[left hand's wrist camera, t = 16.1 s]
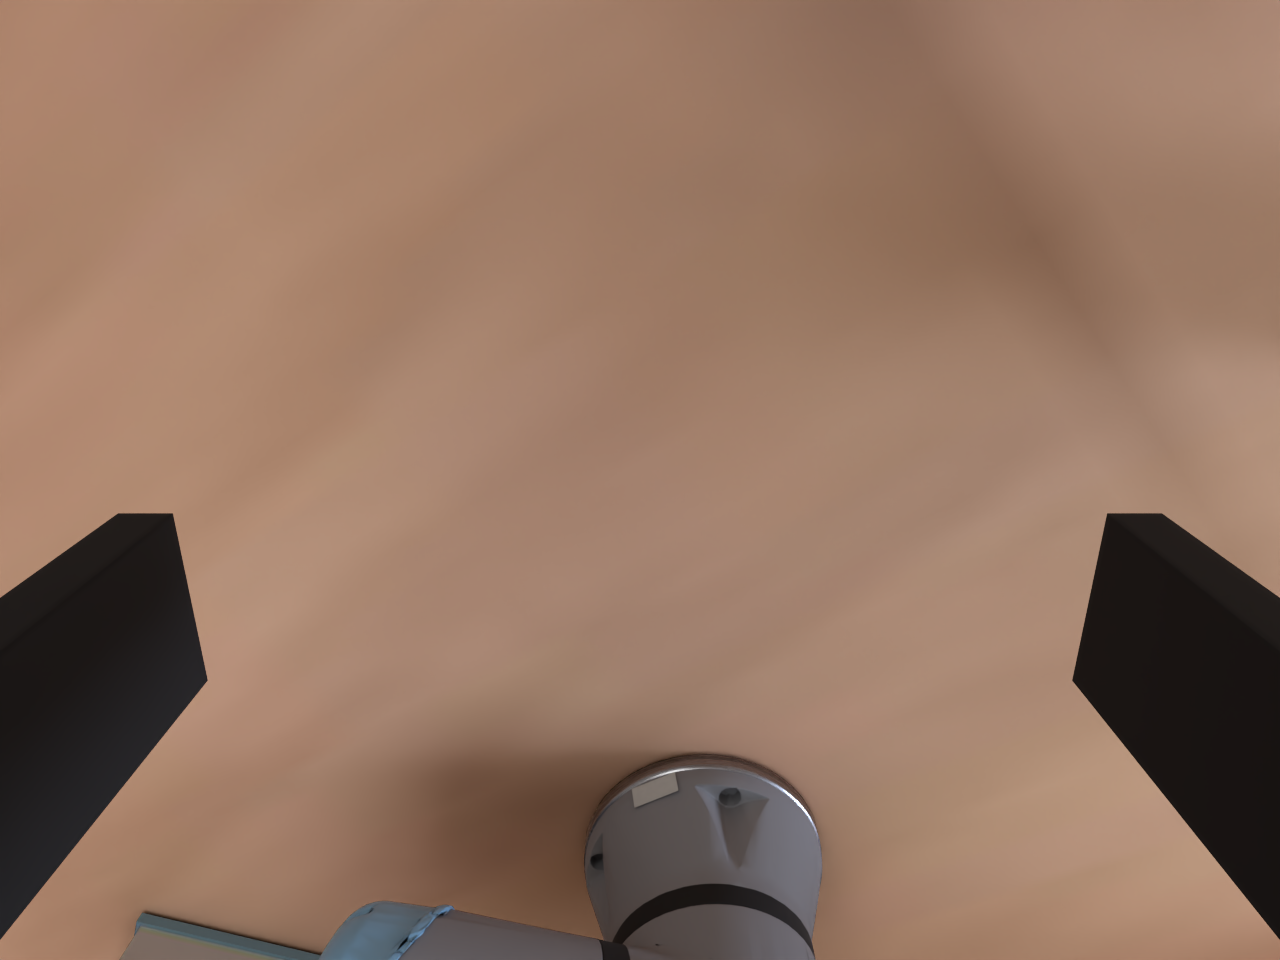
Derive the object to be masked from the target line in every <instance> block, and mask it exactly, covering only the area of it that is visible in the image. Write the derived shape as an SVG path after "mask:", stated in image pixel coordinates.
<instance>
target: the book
mask: <svg viewBox="0 0 1280 960" xmlns="http://www.w3.org/2000/svg"><path fill="white" fill-rule="evenodd" d="M320 956H321V955H317V954H313V953H309V952H304V951H300V950H296V949H292V948H288V947H283V946H279V945H275V944H271V943H267V942H263V941H258V940H254V939H250V938H246V937H242V936H237V935H233V934H229V933H225V932H221V931H217V930H212V929H208V928H204V927H200V926H196V925H192V924H187V923H183V922H179V921H175V920H171V919H166V918H162V917H158V916H154V915H150V914H146V913H142V914H141V916H140V917H139V919H138V920H137V923H136V928H135V934H134V938H133V939H132V941H131V942H130V944H129V945H128V947H127V949H126V950H125V952H124V953H123V955H122V956H121V958H120V960H319V958H320Z"/></svg>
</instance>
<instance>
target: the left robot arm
mask: <svg viewBox="0 0 1280 960" xmlns="http://www.w3.org/2000/svg"><path fill="white" fill-rule="evenodd" d="M207 681H208V680H207V675H206V670H205V666H204V661H203V656H202V651H201V646H200V642H199V637H198V632H197V627H196V623H195V618H194V613H193V608H192V603H191V599H190V594H189V589H188V584H187V579H186V575H185V570H184V565H183V560H182V556H181V551H180V546H179V541H178V536H177V532H176V527H175V522H174V517H173V514H117V515H115V516H114V517H113V518H111V519H110V520H108V521H107V522H106V523H104V524H103V525H101V526H100V527H99V528H97V529H96V530H94V531H93V532H92V533H90V534H89V535H87V536H86V537H85V538H83V539H82V540H80V541H79V542H78V543H76V544H75V545H73V546H72V547H71V548H69V549H68V550H66V551H65V552H64V553H62V554H61V555H60V556H58V557H57V558H55V559H54V560H53V561H51V562H50V563H48V564H47V565H46V566H44V567H43V568H41V569H40V570H39V571H37V572H36V573H34V574H33V575H32V576H30V577H29V578H27V579H26V580H25V581H23V582H22V583H20V584H19V585H18V586H16V587H15V588H13V589H12V590H11V591H9V592H8V593H6V594H5V595H4V596H2V597H1V598H0V939H1V938H2V937H3V935H4V934H5V933H6V932H7V930H8V929H9V928H10V927H11V925H12V924H13V923H14V922H15V920H16V919H17V918H18V917H19V915H20V914H21V913H22V912H23V910H24V909H25V908H26V907H27V905H28V904H29V903H30V902H31V900H32V899H33V898H34V897H35V895H36V894H37V893H38V892H39V890H40V889H41V888H42V887H43V885H44V884H45V883H46V882H47V880H48V879H49V878H50V877H51V875H52V874H53V873H54V872H55V870H56V869H57V868H58V867H59V866H60V864H61V863H62V862H63V861H64V859H65V858H66V857H67V856H68V854H69V853H70V852H71V851H72V849H73V848H74V847H75V846H76V844H77V843H78V842H79V841H80V839H81V838H82V837H83V836H84V834H85V833H86V832H87V831H88V829H89V828H90V827H91V826H92V824H93V823H94V822H95V821H96V819H97V818H98V817H99V816H100V814H101V813H102V812H103V811H104V809H105V808H106V807H107V806H108V804H109V803H110V802H111V801H112V799H113V798H114V797H115V796H116V794H117V793H118V792H119V791H120V789H121V788H122V787H123V786H124V784H125V783H126V782H127V781H128V779H129V778H130V777H131V776H132V774H133V773H134V772H135V771H136V769H137V768H138V767H139V766H140V764H141V763H142V762H143V761H144V759H145V758H146V757H147V756H148V754H149V753H150V752H151V751H152V749H153V748H154V747H155V746H156V744H157V743H158V742H159V741H160V739H161V738H162V737H163V736H164V734H165V733H166V732H167V731H168V729H169V728H170V727H171V726H172V724H173V723H174V722H175V721H176V719H177V718H178V717H179V716H180V714H181V713H182V712H183V711H184V709H185V708H186V707H187V706H188V704H189V703H190V702H191V701H192V699H193V698H194V697H195V696H196V694H197V693H198V692H199V691H200V689H201V688H202V687H203V686H204V684H205V683H206V682H207ZM1072 681H1073V682H1074V683H1075V684H1076V686H1077V687H1078V688H1079V689H1080V691H1081V692H1082V693H1083V694H1084V696H1085V697H1086V698H1087V699H1088V701H1089V702H1090V703H1091V704H1092V706H1093V707H1094V708H1095V709H1096V711H1097V712H1098V713H1099V714H1100V716H1101V717H1102V718H1103V719H1104V721H1105V722H1106V723H1107V724H1108V726H1109V727H1110V728H1111V729H1112V731H1113V732H1114V733H1115V734H1116V736H1117V737H1118V738H1119V739H1120V741H1121V742H1122V743H1123V744H1124V746H1125V747H1126V748H1127V749H1128V751H1129V752H1130V753H1131V754H1132V756H1133V757H1134V758H1135V759H1136V761H1137V762H1138V763H1139V764H1140V766H1141V767H1142V768H1143V769H1144V771H1145V772H1146V773H1147V774H1148V776H1149V777H1150V778H1151V779H1152V781H1153V782H1154V783H1155V784H1156V786H1157V787H1158V788H1159V789H1160V791H1161V792H1162V793H1163V794H1164V796H1165V797H1166V798H1167V799H1168V801H1169V802H1170V803H1171V804H1172V806H1173V807H1174V808H1175V809H1176V811H1177V812H1178V813H1179V814H1180V816H1181V817H1182V818H1183V819H1184V821H1185V822H1186V823H1187V824H1188V826H1189V827H1190V828H1191V829H1192V831H1193V832H1194V833H1195V834H1196V836H1197V837H1198V838H1199V839H1200V841H1201V842H1202V843H1203V844H1204V846H1205V847H1206V848H1207V849H1208V851H1209V852H1210V853H1211V854H1212V856H1213V857H1214V858H1215V859H1216V861H1217V862H1218V863H1219V864H1220V866H1221V867H1222V868H1223V869H1224V871H1225V872H1226V873H1227V874H1228V876H1229V877H1230V878H1231V879H1232V881H1233V882H1234V883H1235V884H1236V886H1237V887H1238V888H1239V889H1240V890H1241V892H1242V893H1243V894H1244V895H1245V897H1246V898H1247V899H1248V900H1249V902H1250V903H1251V904H1252V905H1253V907H1254V908H1255V909H1256V910H1257V912H1258V913H1259V914H1260V915H1261V917H1262V918H1263V919H1264V920H1265V922H1266V923H1267V924H1268V925H1269V927H1270V928H1271V929H1272V930H1273V932H1274V933H1275V934H1276V935H1277V937H1278V938H1279V939H1280V598H1279V597H1278V596H1276V595H1275V594H1274V593H1272V592H1271V591H1269V590H1268V589H1267V588H1265V587H1264V586H1262V585H1261V584H1260V583H1258V582H1257V581H1255V580H1254V579H1253V578H1251V577H1250V576H1248V575H1247V574H1246V573H1244V572H1243V571H1241V570H1240V569H1239V568H1237V567H1236V566H1234V565H1233V564H1232V563H1230V562H1229V561H1227V560H1226V559H1225V558H1223V557H1222V556H1220V555H1219V554H1218V553H1216V552H1215V551H1214V550H1212V549H1211V548H1209V547H1208V546H1207V545H1205V544H1204V543H1202V542H1201V541H1200V540H1198V539H1197V538H1195V537H1194V536H1193V535H1191V534H1190V533H1188V532H1187V531H1186V530H1184V529H1183V528H1181V527H1180V526H1179V525H1177V524H1176V523H1174V522H1173V521H1172V520H1170V519H1169V518H1167V517H1166V516H1165V515H1163V514H1107V517H1106V522H1105V527H1104V532H1103V536H1102V541H1101V546H1100V551H1099V556H1098V560H1097V565H1096V570H1095V575H1094V579H1093V584H1092V589H1091V594H1090V599H1089V603H1088V608H1087V613H1086V618H1085V623H1084V627H1083V632H1082V637H1081V642H1080V646H1079V651H1078V656H1077V661H1076V666H1075V670H1074V675H1073V680H1072ZM584 868H585V878H586V885H587V890H588V894H589V896H590V899H591V902H592V905H593V908H594V911H595V914H596V917H597V920H598V923H599V926H600V929H601V932H602V935H603V938H604V941H603V940H599V939H595V938H590V937H585V936H579V935H574V934H569V933H564V932H559V931H554V930H549V929H544V928H539V927H535V926H530V925H525V924H520V923H515V922H510V921H506V920H501V919H496V918H491V917H486V916H482V915H477V914H472V913H467V912H462V911H457V910H455V909H454V908H453V906H450V905H441V906H437V907H436V908H435V907H426V906H419V905H412V904H405V903H398V902H391V901H377V902H373V903H370V904H367V905H365V906H363V907H361V908H360V909H358V910H357V911H355V912H354V913H353V914H351V915H350V916H349V917H348V918H347V920H346V921H345V922H344V923H343V924H342V925H341V926H340V927H339V929H338V930H337V931H336V933H335V934H334V936H333V937H332V938H331V940H330V941H329V943H328V944H327V946H326V948H325V949H324V951H323V953H322V954H321V956H320V958H319V960H815V955H814V950H813V945H812V935H813V929H814V923H815V916H816V910H817V903H818V896H819V889H820V884H821V878H822V854H821V845H820V840H819V836H818V832H817V828H816V825H815V822H814V819H813V816H812V814H811V812H810V809H809V807H808V806H807V804H806V803H805V801H804V800H803V798H802V797H801V796H800V795H799V793H798V792H797V791H796V790H795V789H794V788H793V787H792V786H791V785H790V784H789V783H787V782H786V781H785V780H784V779H782V778H781V777H780V776H778V775H776V774H775V773H773V772H772V771H770V770H768V769H766V768H764V767H762V766H759V765H757V764H755V763H752V762H749V761H746V760H742V759H738V758H734V757H728V756H721V755H707V754H706V755H688V756H681V757H675V758H670V759H667V760H663V761H660V762H657V763H654V764H651V765H649V766H647V767H644V768H642V769H640V770H638V771H636V772H635V773H633V774H631V775H630V776H628V777H627V778H625V779H624V780H622V781H621V782H620V783H619V784H617V785H616V786H615V787H614V788H613V789H612V790H611V791H610V792H609V793H608V794H607V795H606V796H605V797H604V799H603V800H602V801H601V803H600V804H599V805H598V807H597V809H596V810H595V812H594V814H593V816H592V819H591V821H590V824H589V827H588V830H587V835H586V843H585V856H584Z"/></svg>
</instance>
